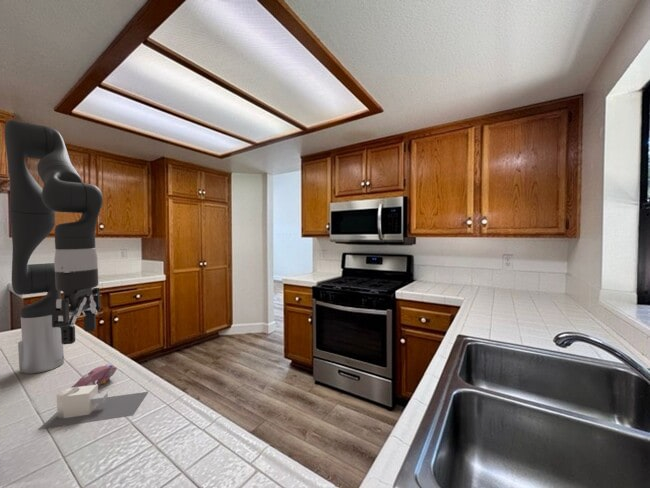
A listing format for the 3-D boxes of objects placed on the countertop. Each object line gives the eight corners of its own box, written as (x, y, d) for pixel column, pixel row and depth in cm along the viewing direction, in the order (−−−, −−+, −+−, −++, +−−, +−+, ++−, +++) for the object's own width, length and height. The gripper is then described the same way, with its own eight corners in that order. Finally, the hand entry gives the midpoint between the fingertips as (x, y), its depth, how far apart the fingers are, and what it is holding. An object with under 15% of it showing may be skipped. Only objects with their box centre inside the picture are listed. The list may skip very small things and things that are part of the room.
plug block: (53, 419, 64) (52, 398, 63) (64, 409, 67) (63, 388, 67) (101, 412, 66) (100, 391, 66) (109, 402, 70) (109, 383, 70)
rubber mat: (38, 431, 60) (37, 429, 60) (67, 404, 70) (67, 402, 70) (133, 417, 65) (133, 415, 65) (148, 393, 75) (148, 391, 75)
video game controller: (78, 404, 73) (87, 382, 72) (65, 395, 73) (73, 372, 73) (113, 384, 82) (121, 364, 82) (102, 376, 83) (110, 356, 82)
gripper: (76, 265, 72) (79, 328, 72) (34, 272, 58) (38, 350, 58) (110, 264, 73) (113, 325, 74) (77, 271, 60) (81, 346, 60)
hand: (80, 336), depth 66 cm, fingers open, 8 cm apart
